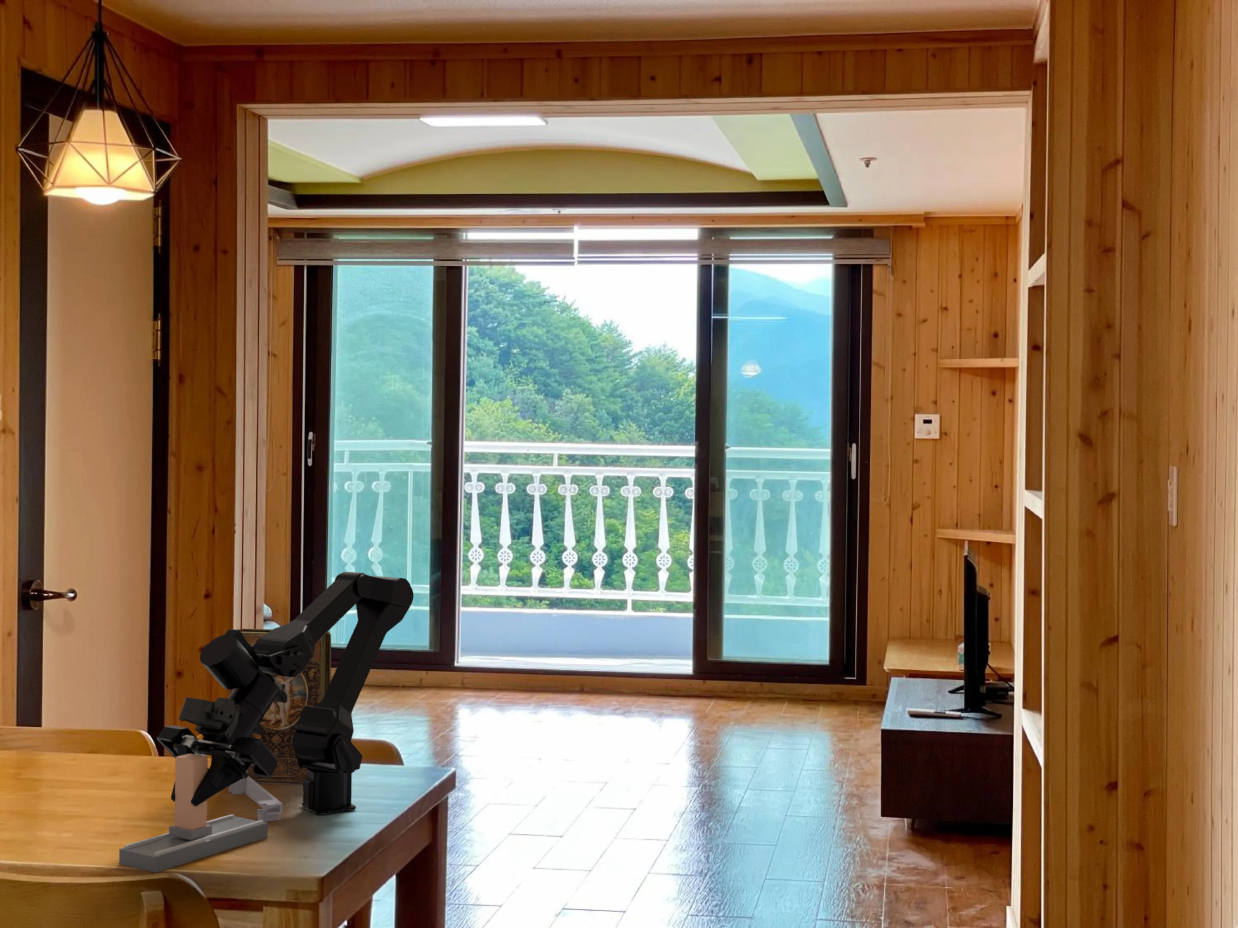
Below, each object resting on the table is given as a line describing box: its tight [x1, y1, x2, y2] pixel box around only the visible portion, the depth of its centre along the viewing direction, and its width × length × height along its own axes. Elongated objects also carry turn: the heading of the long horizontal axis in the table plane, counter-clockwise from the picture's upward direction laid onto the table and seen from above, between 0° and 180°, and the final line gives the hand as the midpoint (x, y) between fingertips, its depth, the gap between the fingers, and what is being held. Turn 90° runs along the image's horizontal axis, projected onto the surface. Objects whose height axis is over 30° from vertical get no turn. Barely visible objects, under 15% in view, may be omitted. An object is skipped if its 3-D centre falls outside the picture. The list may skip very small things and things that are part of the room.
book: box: [229, 628, 332, 786], centre depth 227 cm, size 16×6×25 cm, turn 84°
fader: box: [168, 754, 212, 840], centre depth 185 cm, size 4×4×11 cm
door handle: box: [228, 776, 283, 823], centre depth 209 cm, size 21×3×3 cm, turn 30°
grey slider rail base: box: [118, 813, 269, 874], centre depth 186 cm, size 20×7×2 cm, turn 150°
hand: (183, 802), depth 184 cm, fingers closed on fader, 3 cm apart
